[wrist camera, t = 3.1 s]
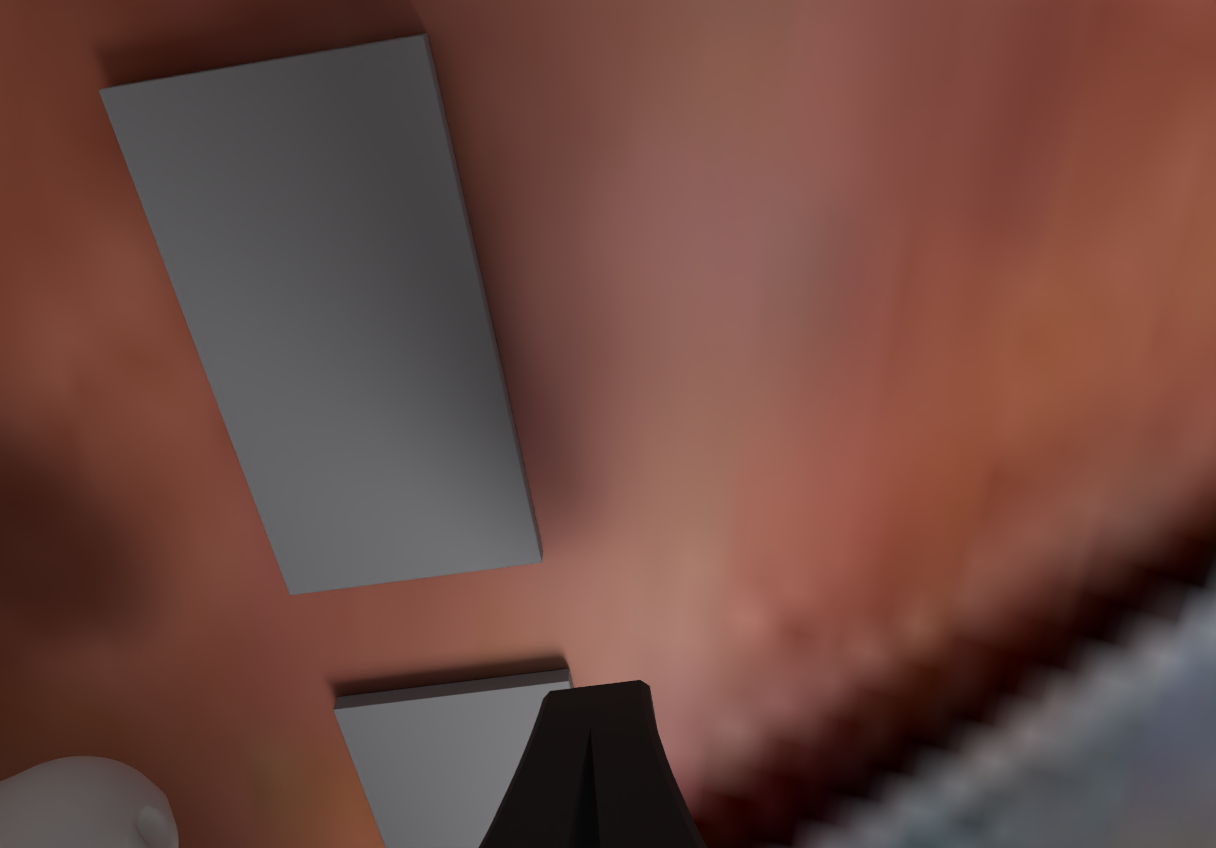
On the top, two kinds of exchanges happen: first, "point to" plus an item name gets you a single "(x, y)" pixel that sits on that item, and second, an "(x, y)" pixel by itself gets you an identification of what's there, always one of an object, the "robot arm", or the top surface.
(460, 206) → the rectangular frame
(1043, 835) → the top surface
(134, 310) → the top surface
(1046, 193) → the top surface
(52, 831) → the chubby cartoon animal
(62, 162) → the top surface
